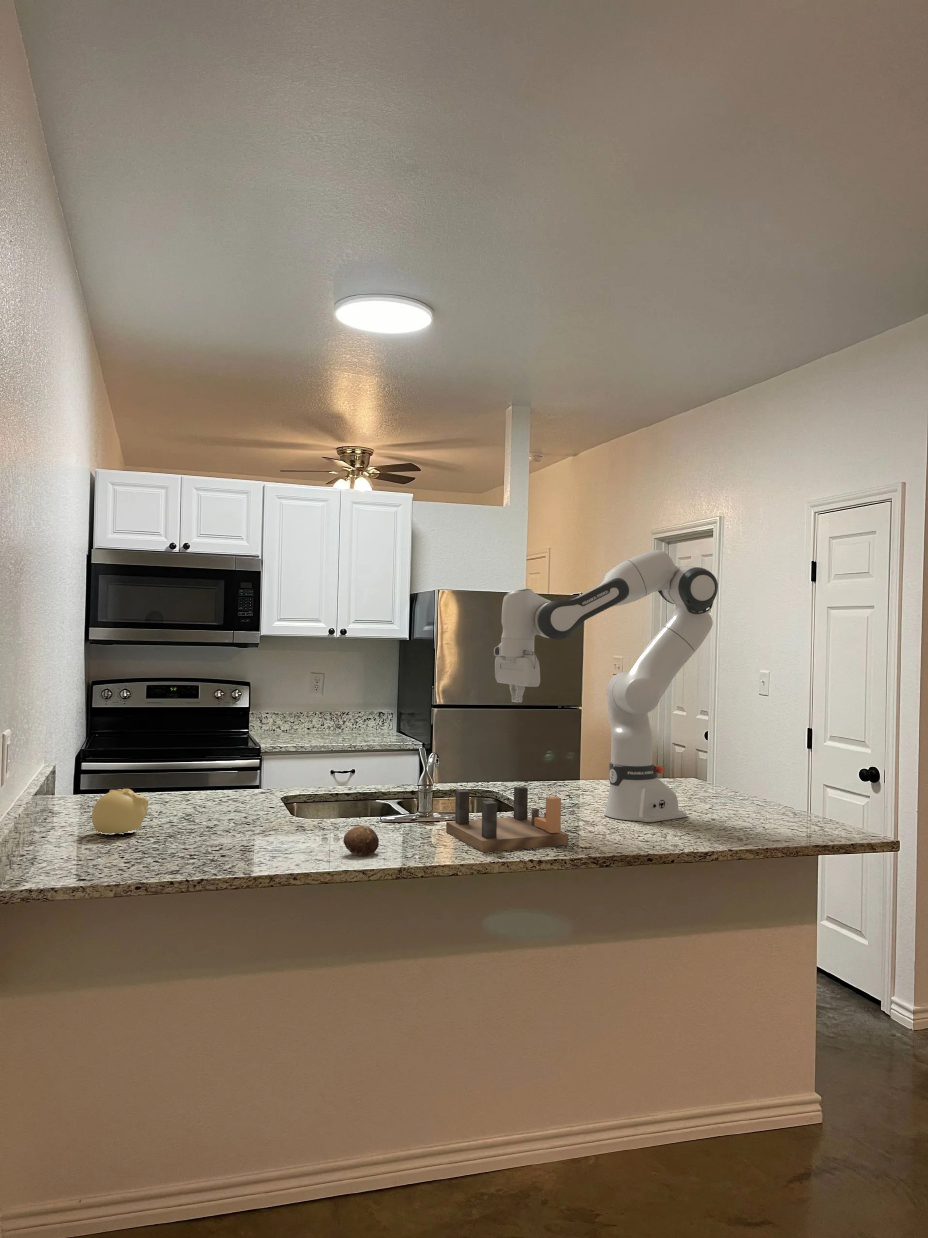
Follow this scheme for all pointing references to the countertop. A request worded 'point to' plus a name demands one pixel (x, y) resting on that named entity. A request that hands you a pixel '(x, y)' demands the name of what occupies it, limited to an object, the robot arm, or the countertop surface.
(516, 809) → the wooden peg board
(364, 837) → the brown rounded lump
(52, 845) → the countertop surface
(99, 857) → the countertop surface
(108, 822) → the sculpture
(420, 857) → the countertop surface
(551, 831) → the l-shaped wooden block
